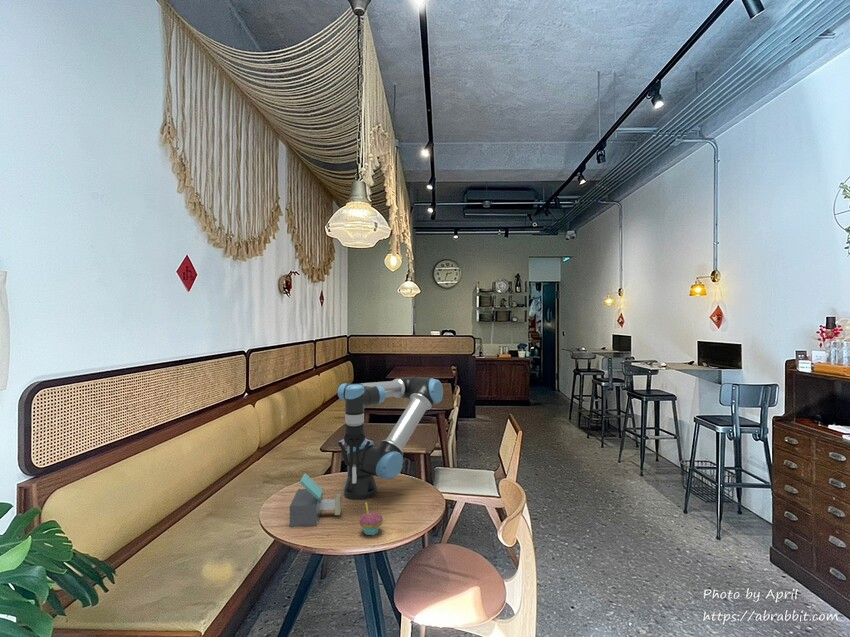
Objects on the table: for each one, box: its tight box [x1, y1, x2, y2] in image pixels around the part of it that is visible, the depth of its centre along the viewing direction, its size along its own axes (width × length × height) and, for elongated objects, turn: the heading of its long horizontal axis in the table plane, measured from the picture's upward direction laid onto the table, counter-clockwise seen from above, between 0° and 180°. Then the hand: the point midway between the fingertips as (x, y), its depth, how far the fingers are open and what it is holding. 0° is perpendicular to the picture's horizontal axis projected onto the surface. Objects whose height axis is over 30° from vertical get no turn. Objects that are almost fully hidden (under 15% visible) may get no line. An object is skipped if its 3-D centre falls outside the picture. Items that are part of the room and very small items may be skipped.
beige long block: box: [319, 493, 342, 516], centre depth 171 cm, size 15×6×6 cm, turn 95°
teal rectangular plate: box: [299, 472, 324, 500], centre depth 171 cm, size 10×8×1 cm
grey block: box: [289, 487, 324, 528], centre depth 171 cm, size 10×16×8 cm, turn 5°
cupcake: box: [359, 501, 384, 536], centre depth 158 cm, size 9×8×12 cm
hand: (354, 482), depth 172 cm, fingers closed
